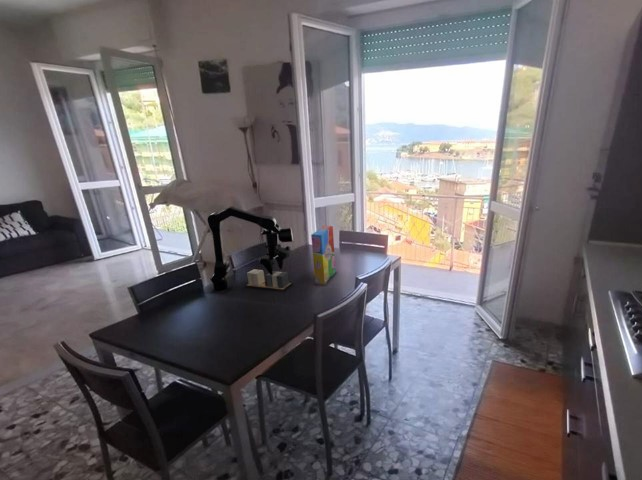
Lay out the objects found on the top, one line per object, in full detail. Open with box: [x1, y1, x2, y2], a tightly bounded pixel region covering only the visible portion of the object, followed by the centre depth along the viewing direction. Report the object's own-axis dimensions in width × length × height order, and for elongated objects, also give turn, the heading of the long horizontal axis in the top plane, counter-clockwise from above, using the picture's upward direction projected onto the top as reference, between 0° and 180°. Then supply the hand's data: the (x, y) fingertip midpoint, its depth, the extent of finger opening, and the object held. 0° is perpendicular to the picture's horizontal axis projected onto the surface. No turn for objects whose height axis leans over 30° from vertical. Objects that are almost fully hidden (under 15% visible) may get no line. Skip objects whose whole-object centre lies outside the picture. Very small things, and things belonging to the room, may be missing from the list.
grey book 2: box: [277, 271, 290, 289], centre depth 185 cm, size 6×3×6 cm, turn 163°
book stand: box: [246, 275, 292, 290], centre depth 188 cm, size 9×22×6 cm, turn 73°
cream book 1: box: [246, 268, 258, 285], centre depth 190 cm, size 6×3×6 cm, turn 163°
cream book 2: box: [252, 269, 265, 285], centre depth 189 cm, size 6×3×6 cm, turn 163°
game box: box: [310, 225, 337, 286], centre depth 192 cm, size 21×6×27 cm, turn 168°
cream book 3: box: [271, 271, 283, 288], centre depth 186 cm, size 6×3×6 cm, turn 163°
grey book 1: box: [265, 270, 278, 287], centre depth 187 cm, size 6×3×6 cm, turn 163°
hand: (276, 271), depth 184 cm, fingers open, 9 cm apart
